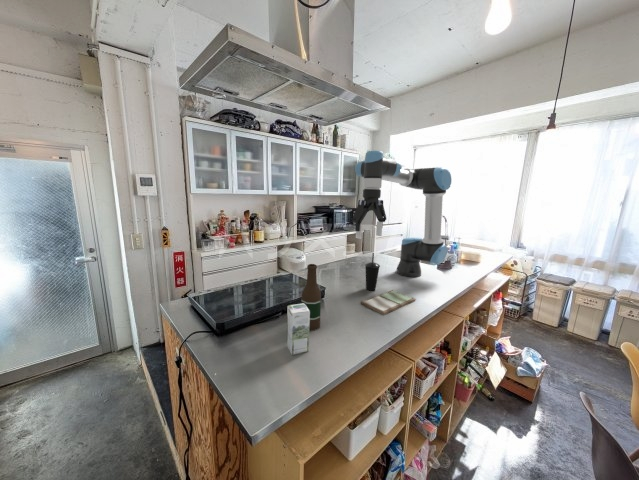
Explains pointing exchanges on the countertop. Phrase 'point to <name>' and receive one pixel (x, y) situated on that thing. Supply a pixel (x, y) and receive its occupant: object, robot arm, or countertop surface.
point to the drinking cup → (371, 275)
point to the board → (388, 302)
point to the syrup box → (298, 328)
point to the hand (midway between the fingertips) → (368, 237)
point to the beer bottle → (312, 297)
